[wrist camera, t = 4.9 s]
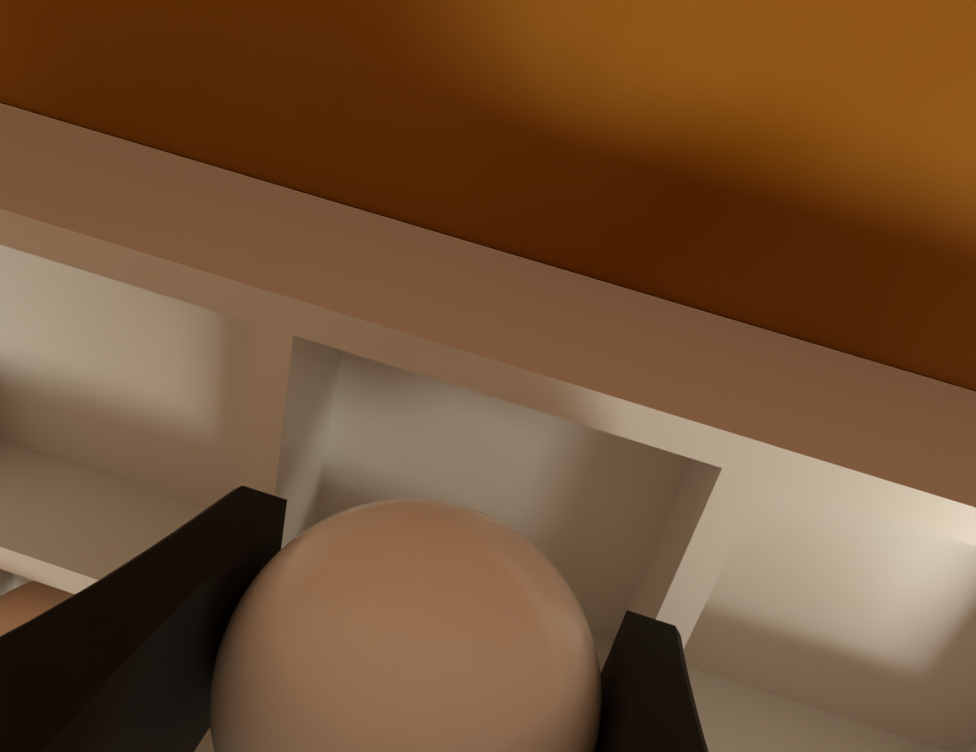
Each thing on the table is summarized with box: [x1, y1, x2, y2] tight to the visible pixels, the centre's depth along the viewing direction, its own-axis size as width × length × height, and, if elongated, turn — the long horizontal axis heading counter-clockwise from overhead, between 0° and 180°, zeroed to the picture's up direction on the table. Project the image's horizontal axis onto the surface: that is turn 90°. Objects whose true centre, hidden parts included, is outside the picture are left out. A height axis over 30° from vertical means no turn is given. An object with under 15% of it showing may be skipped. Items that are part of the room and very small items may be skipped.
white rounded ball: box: [210, 498, 602, 752], centre depth 11 cm, size 4×4×4 cm
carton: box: [0, 103, 976, 752], centre depth 15 cm, size 18×12×5 cm
